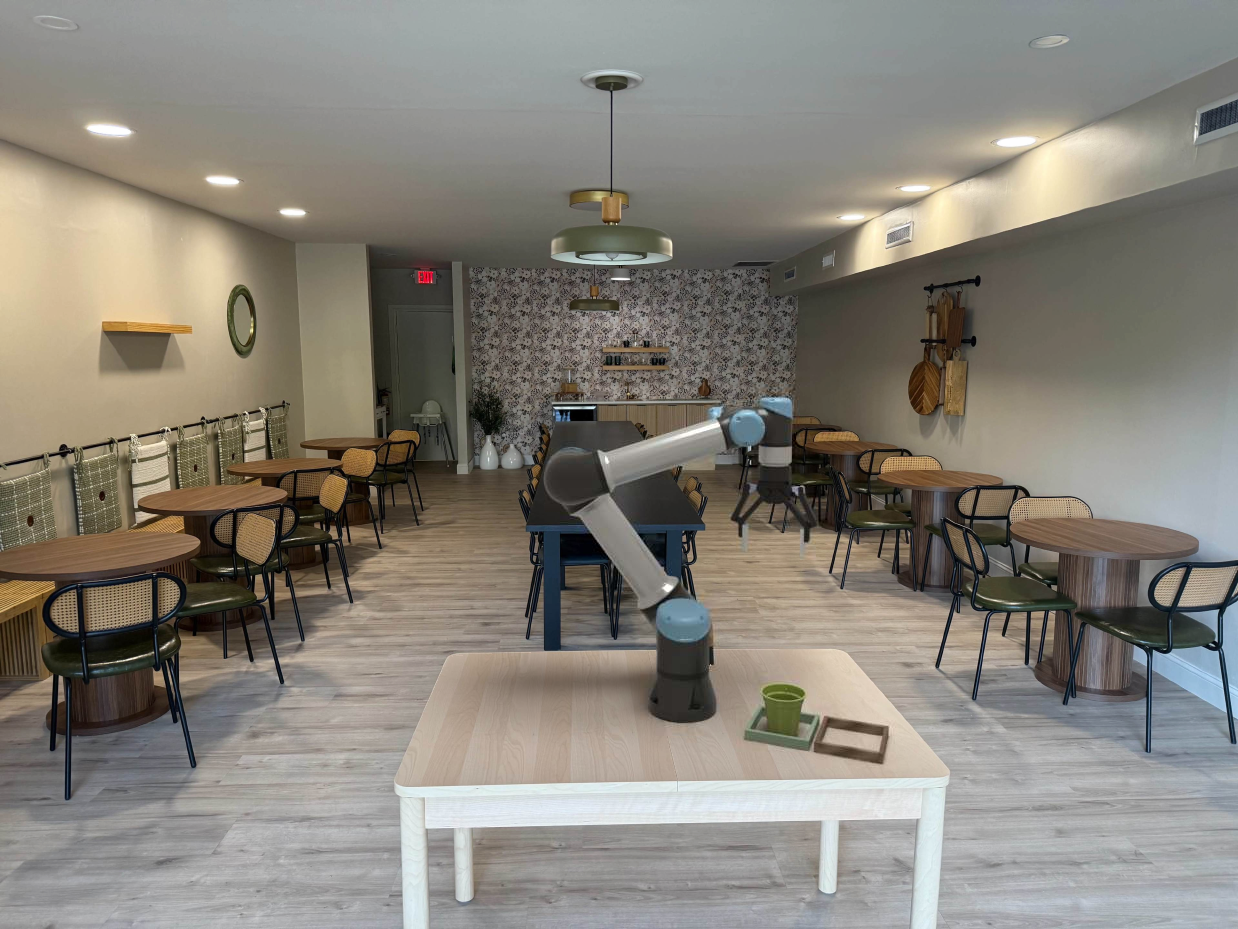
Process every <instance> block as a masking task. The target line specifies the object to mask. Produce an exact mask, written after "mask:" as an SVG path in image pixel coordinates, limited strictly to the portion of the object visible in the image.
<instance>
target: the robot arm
mask: <svg viewBox="0 0 1238 929" xmlns="http://www.w3.org/2000/svg"><path fill="white" fill-rule="evenodd" d="M793 419H794V417H793V402H792V400H791V399H790V398H788V397H762V398H760V400H759V404H758V405H756V406H724V405H722V406H713V407H710V408H709V410H708V412H707V419H706V420H705V421H701V422H699V423H696V424H692V425H689V426H685V427H683V428H680V429H677V430H673V431H670V432H667V433H664V434H661V435H657V436H654V437H650V438H648V439H644V440H641V441H638V442H635V443H632V444H628V445H625V446H622V447H619V448H616V449H613V450H610V451H606V452H604V451H602V450H600V449H596V450H593V451H590V452H587V451H586V450H584V449H582V448H579V447H573V446H572V447H570V446H569V447H564V448H562V449H560V450H558V451H556V452H554V454H552V455H551V456H550V457H549V459H548V461H547V464H546V465H545V470H544V475H543V484H544V488H545V491H546V492H547V494H548V496H549V497H550V498H551V499H552V500H553V501H555V502H556V503H559V504H561V505H562V506H563V508H564V509H565V510H566V512H567V513H568V514H569V515H570V516H573V517H577V518H580V520H581V521H582V523H583V524H584V525H585V526H586V527H587V529H588V530H589V532H590V533H591V534H592V536H593V537H594V539H595V540H596V541H597V543H598V544H599V545H600V547H601V548H602V550H603V551H604V553H605V554H606V555H607V556H608V558H609V559H610V560H611V562H612V564H613V565H614V566H615V567H616V569H617V570H618V572H619V573H620V574H621V576H622V577H623V578H624V579H625V581H626V582H627V583H628V585H629V587H630V588H631V589H632V590H633V591H634V594H635V595H636V596H637V597H638V600H637V608H638V610H639V611H640V612H641V613H642V615H643V616H644V618H645V619H646V620H647V622H648V624H649V625H650V626H651V628H653V631H654V635H655V639H656V642H655V643H656V675H655V678H654V680H653V684H652V687H651V690H650V693H649V695H648V696H649V697H648V710H649V709H650V710H649V712H652V713H651V714H652V715H654V716H655V715H656V718H659V717H660V719H662V718H663V719H662V720H665V719H666V720H665V721H669V720H670V721H669V722H677V723H695V722H699V721H704V720H706V719H709V718H711V717H712V716H714V715H715V714H716V712H717V711H718V710H717V707H718V706H717V704H718V703H717V701H718V700H717V696H716V692H715V689H714V686H713V683H712V680H711V678H710V666H709V629H710V619H711V617H710V613H709V612H710V611H709V610H708V608H707V607H706V605H705V604H703V603H702V602H699V601H698V602H697V600H696V599H695V598H694V596H693V595H692V594H691V593H689V591H687V589H686V588H685V587H684V585H683V584H682V583H681V581H680V580H679V578H678V577H677V576H672V575H671V576H670V575H667V573H666V572H665V570H664V569H663V567H662V566H661V564H660V563H659V562H658V560H657V559H656V558H655V556H654V555H653V553H652V552H651V551H650V549H649V548H648V547H647V545H646V544H645V543H644V541H643V540H642V538H641V537H640V536H639V534H638V533H637V531H636V530H635V529H634V527H633V526H632V524H631V523H630V521H628V519H627V518H626V516H625V515H624V514H623V512H622V511H621V509H620V508H619V507H618V505H617V504H616V502H615V501H614V500H613V498H612V497H611V496H610V495H611V494H610V493H612V492H613V491H614V490H615V488H616V487H617V486H619V485H623V484H626V483H630V482H633V481H636V480H639V479H641V478H645V477H648V476H652V475H654V474H658V473H660V472H664V471H667V470H670V469H673V468H676V467H680V466H683V465H686V464H689V463H692V462H695V461H698V460H702V459H704V458H708V457H711V456H714V455H717V454H720V453H723V452H727V451H731V450H735V449H738V448H742V447H743V448H749V447H753V446H755V445H757V444H758V462H759V463H760V464H759V465H758V473H757V475H758V478H757V479H758V480H757V481H758V482H757V484H754V483H751V482H748V483H745V484H744V487H743V488H744V489H743V493H742V496H741V498H740V499H739V501H738V503H737V505H736V507H735V509H734V511H733V512H732V515H731V517H730V521H732V522H735V523H736V524H737V526H738V528H737V529H738V530H737V531H738V532H737V535H738V537H739V538H741V539H742V540H741V542H742V544H741V552H742V553H746V552H747V551H748V550H749V523H748V522H746V521H747V520H748V519H749V518H750V517H751V516H752V514H754V512H756V510H757V509H758V508H759V507H760V506H761V505H762V504H763V503H766V504H768V505H769V504H770V505H771V504H775V505H782V504H783V505H784V506H785V507H786V508H787V509H788V510H789V511H790V512H791V514H792V515H793V516H794V517H795V519H796V520H797V522H798V523H799V524H800V525H801V526H802V527H801V528H800V531H799V534H800V535H799V558H804V557H805V555H806V543H808V544H809V542H810V540H811V529H812V528H816V527H817V526H819V520H818V518H817V516H816V514H815V512H814V510H813V508H812V505H811V503H810V501H809V499H808V497H807V494H806V486H805V485H802V484H801V485H800V486H793V485H792V466H791V463H792V460H793V459H792V455H793V451H792V450H793V446H792V444H793V443H792V440H793V439H792V438H793ZM755 491H756V492H757V493H758V494H759V497H758V498H757V499H756V500H755V501H754V503H753V504H752V505H751V506H750V507H749V508H748V509H747V510H746V511H745V513H744V514H743V515H742V516H740V515H741V513H742V511H743V510H744V508H745V506H746V504H747V502H748V499H749V498H750V496H751V494H752V493H754V492H755ZM792 493H794V494H795V496H797V497H798V499H799V502H800V504H801V506H802V508H803V510H804V512H805V514H806V516H807V518H806V516H805V515H804V514H803V513H802V511H801V510H800V508H799V507H797V505H796V504H795V502H794V500H793V499H792V498H791V494H792Z"/></svg>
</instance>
